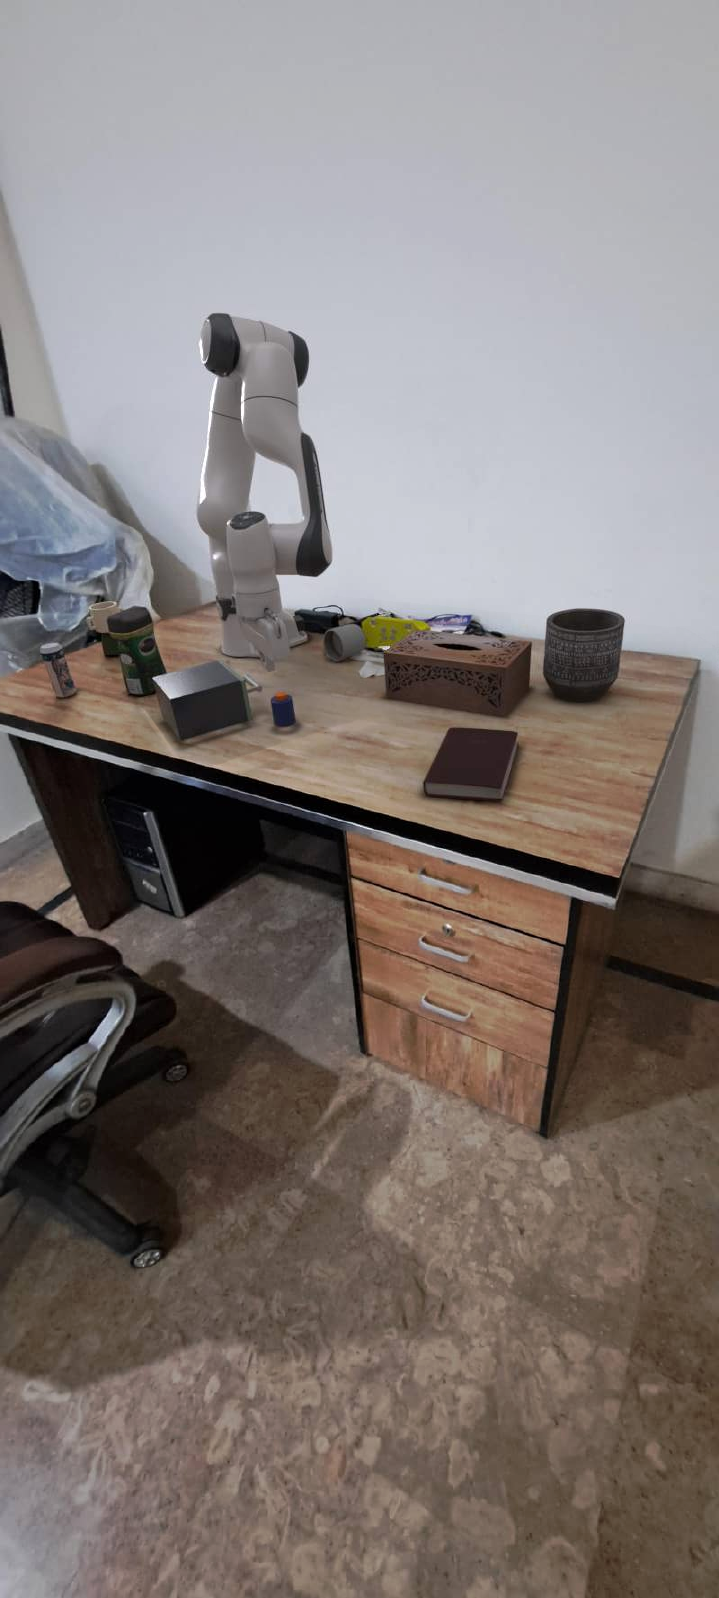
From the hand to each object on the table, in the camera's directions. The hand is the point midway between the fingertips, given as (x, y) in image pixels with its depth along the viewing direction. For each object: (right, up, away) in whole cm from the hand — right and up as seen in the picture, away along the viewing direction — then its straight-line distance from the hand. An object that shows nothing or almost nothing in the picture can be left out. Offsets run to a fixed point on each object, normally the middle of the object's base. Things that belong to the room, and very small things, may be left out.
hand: (268, 669), depth 139 cm
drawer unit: (-13, -12, -2) cm, 17 cm away
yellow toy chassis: (+28, +9, +25) cm, 38 cm away
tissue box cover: (+39, -5, +1) cm, 39 cm away
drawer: (-10, -10, -1) cm, 14 cm away
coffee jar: (-30, -1, +17) cm, 35 cm away
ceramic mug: (+15, +8, +25) cm, 30 cm away
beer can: (-50, -2, +19) cm, 54 cm away
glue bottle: (+4, -13, -7) cm, 15 cm away
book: (+38, -22, -26) cm, 51 cm away
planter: (+63, -6, -4) cm, 63 cm away
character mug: (-46, +12, +41) cm, 63 cm away
